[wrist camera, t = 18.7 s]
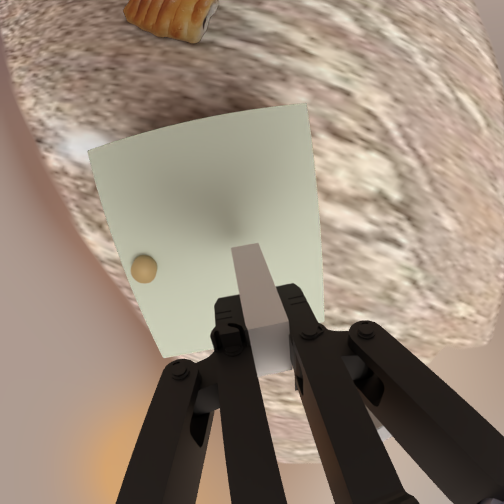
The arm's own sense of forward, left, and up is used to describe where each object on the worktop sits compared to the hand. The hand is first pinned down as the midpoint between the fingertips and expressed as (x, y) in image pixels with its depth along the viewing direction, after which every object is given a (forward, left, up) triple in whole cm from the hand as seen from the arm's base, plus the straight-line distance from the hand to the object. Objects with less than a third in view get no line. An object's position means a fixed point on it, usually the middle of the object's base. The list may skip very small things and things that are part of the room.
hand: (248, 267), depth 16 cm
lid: (+1, +6, -5) cm, 8 cm away
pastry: (-24, -3, -18) cm, 30 cm away
